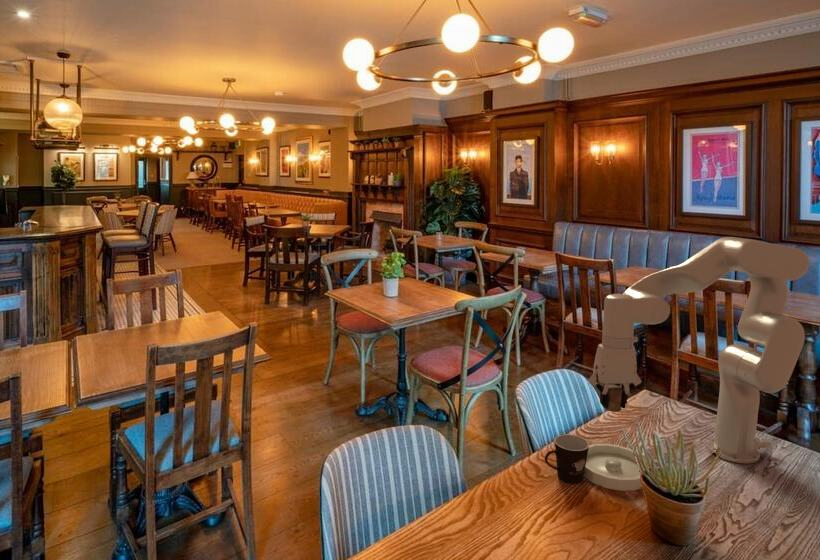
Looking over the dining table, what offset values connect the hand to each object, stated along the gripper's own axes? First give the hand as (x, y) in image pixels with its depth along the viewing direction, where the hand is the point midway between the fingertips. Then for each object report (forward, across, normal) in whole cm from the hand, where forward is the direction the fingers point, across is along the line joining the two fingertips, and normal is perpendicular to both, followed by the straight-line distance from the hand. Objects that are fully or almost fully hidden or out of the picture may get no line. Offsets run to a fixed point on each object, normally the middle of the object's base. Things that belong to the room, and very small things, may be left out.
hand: (613, 405), depth 136 cm
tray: (+17, 0, +3) cm, 18 cm away
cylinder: (+1, 0, 0) cm, 1 cm away
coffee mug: (+18, +14, +6) cm, 23 cm away
